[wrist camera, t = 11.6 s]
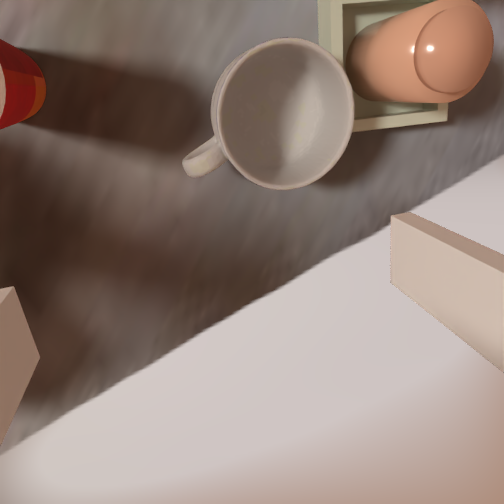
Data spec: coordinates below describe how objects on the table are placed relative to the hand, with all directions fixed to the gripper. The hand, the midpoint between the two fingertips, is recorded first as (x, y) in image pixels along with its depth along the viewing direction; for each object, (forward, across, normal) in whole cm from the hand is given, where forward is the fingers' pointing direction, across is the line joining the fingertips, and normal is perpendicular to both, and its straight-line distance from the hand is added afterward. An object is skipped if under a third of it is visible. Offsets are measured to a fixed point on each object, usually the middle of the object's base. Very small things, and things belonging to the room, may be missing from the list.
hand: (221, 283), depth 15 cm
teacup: (+26, +7, +3) cm, 27 cm away
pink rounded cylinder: (+25, +19, +7) cm, 32 cm away
